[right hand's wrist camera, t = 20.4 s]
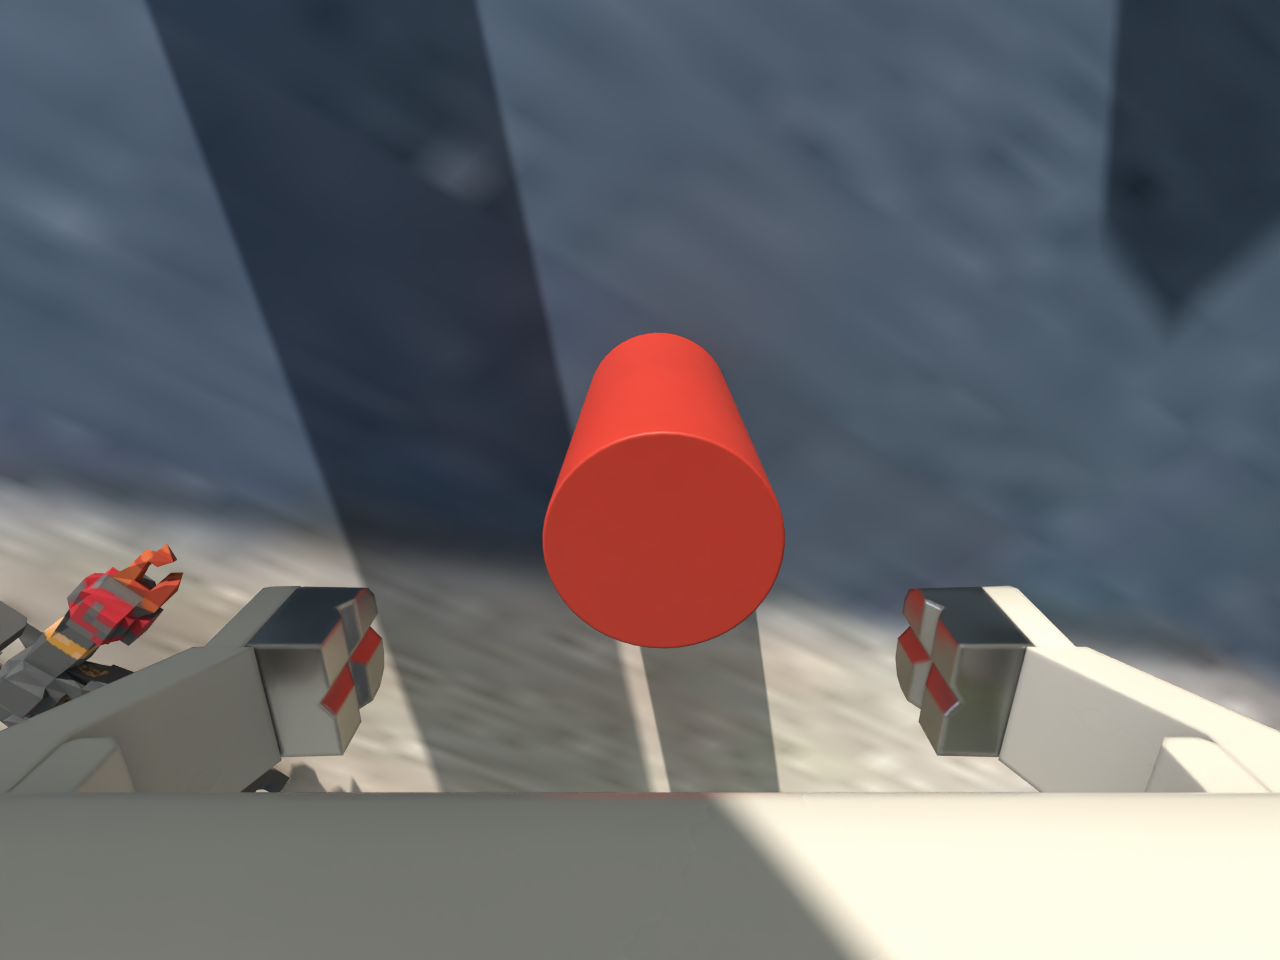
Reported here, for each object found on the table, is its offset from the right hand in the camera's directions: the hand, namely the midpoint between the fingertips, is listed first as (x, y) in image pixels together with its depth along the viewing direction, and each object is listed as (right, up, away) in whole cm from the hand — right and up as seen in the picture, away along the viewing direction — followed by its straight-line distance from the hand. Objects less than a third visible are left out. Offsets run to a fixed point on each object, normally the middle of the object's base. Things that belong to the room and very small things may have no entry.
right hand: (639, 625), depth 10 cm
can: (+1, +5, +13) cm, 14 cm away
